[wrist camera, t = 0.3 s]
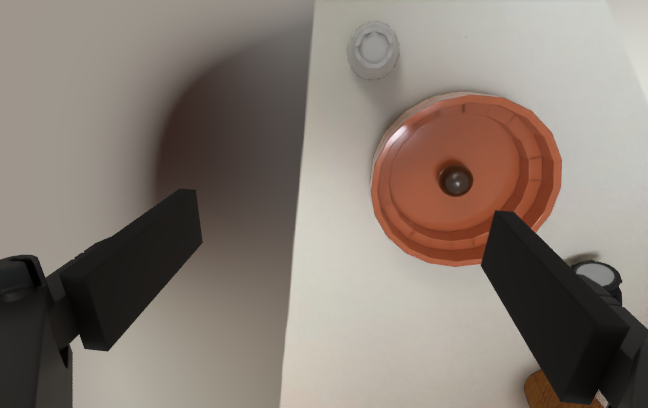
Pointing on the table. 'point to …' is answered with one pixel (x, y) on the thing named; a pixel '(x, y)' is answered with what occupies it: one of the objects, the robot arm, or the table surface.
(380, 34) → the rook chess piece
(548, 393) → the disposable coffee cup
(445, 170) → the bead
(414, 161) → the bowl
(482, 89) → the table surface
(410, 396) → the table surface
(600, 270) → the smartwatch
